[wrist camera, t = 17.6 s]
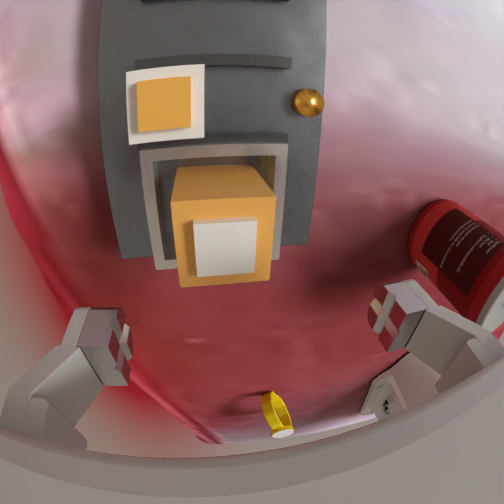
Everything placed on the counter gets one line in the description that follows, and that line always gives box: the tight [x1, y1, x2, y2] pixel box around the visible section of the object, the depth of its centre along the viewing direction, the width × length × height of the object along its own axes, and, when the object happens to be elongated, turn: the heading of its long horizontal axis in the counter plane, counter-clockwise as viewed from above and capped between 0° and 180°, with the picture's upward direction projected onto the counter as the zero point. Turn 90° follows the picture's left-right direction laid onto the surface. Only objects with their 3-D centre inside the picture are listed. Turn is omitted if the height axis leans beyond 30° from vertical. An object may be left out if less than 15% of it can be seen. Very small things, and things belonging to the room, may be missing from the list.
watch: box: [261, 391, 294, 438], centre depth 30 cm, size 6×3×6 cm, turn 27°
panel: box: [98, 0, 326, 270], centre depth 12 cm, size 20×12×4 cm, turn 179°
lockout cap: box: [171, 165, 276, 287], centre depth 13 cm, size 4×4×5 cm
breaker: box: [126, 64, 205, 145], centre depth 10 cm, size 3×3×4 cm
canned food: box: [408, 200, 504, 333], centre depth 19 cm, size 8×8×11 cm
